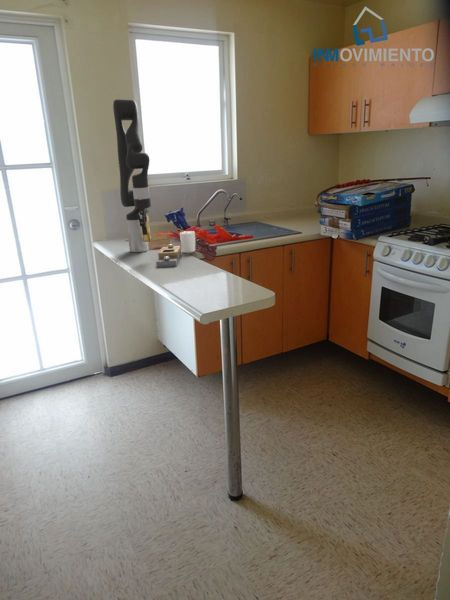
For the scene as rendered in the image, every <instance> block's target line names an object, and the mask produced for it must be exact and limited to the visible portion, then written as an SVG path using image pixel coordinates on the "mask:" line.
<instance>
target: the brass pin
mask: <svg viewBox="0 0 450 600" xmlns="http://www.w3.org/2000/svg"><path fill="white" fill-rule="evenodd" d="M145 220H146V219H145ZM142 224H144V222H142ZM146 224H147V235H143V234H142V240H143V242H147V243H149V242H152V240H151V229H150V216H149V217H148V216H147V222H146ZM141 231H142V227H141Z"/></svg>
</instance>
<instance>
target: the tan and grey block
mask: <svg viewBox="0 0 450 600" xmlns="http://www.w3.org/2000/svg"><path fill="white" fill-rule="evenodd" d="M157 255H158V259H156V264H155V265H156V268H166V267H167V268H168V267H170V268H171V267H177V266H178V264H179V261H180V259H181V257H182V246H181V245H174V244H173V243H168V244H167V246H162V247H161V249H160V250H159V251H158V253H157Z"/></svg>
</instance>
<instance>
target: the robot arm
mask: <svg viewBox="0 0 450 600" xmlns="http://www.w3.org/2000/svg"><path fill="white" fill-rule="evenodd" d="M112 107H113V117H114V124H115V131H116V143H117V144H116V146H117V157H118V168H119V179H120V180H119V182H120V183H119V184H120V185H119V187H120V190H119V191H120V200H121V201H120V202H121V204H122V206H123V207H125V208H128V207H134V209H133V210H131V211H130V212H128V213H126V224H127V231H128V232H127V233H128V234H127V239H128V248H129V252H130V253H141V252H142V253H143V252H146V251H148V250H149V249H148V248H149V247H148V242H143V240H142V234H143V235H147V224H146V222H147V216H148V217H149V218H150V211H149V210H148V208H149V209H150V208H151V206H152V205H151V204H152V203H151V195H150V187H149V180H148V179H149V178H148V176H149V175H148V173H149V172H148V171H149V167H150V156H149V155H148V153H147V152H145V151H143V143H142V140H141V133H140V122H139V113H138V112H139V111H138V105H137V102H136V101H135V100H134V99H115V100H113V104H112ZM123 121H131V123H130V125H129V127H127V130H125V128H124V125H123ZM138 169H140V170H141V169H142V170H141V172H139V173H136V174H133V173H134V171H135V170H138ZM130 180H131V181H132V188H131V187H130V188H129V185H130V184H129V183H130ZM145 219H146V220H145ZM142 222H144V224H142ZM141 227H142V231H141Z"/></svg>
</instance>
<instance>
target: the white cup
mask: <svg viewBox="0 0 450 600" xmlns="http://www.w3.org/2000/svg"><path fill="white" fill-rule="evenodd" d="M179 238H180V244H181V245H180V246H181V253H186V254H187V253H194V252H196V232H195V231H194V230H187V231H180V232H179Z"/></svg>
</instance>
